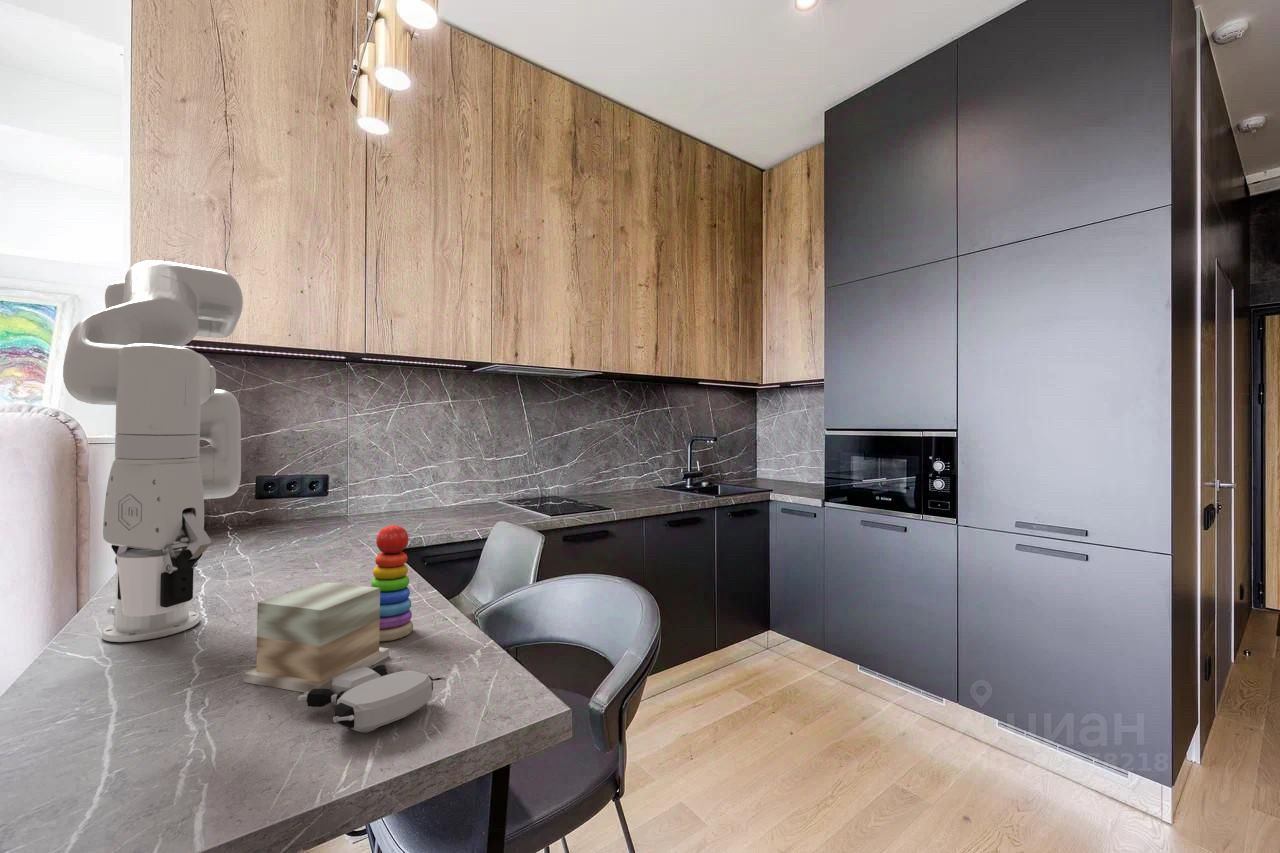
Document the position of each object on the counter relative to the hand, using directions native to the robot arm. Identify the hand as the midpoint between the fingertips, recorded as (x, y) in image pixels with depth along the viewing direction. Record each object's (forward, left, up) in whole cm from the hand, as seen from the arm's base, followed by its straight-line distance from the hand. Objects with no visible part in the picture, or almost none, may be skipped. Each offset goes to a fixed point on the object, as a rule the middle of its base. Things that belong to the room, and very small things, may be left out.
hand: (155, 598), depth 65 cm
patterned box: (+7, +18, -15) cm, 24 cm away
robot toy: (+23, +10, -15) cm, 29 cm away
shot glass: (0, 0, -1) cm, 1 cm away
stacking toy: (+7, +32, -15) cm, 36 cm away
